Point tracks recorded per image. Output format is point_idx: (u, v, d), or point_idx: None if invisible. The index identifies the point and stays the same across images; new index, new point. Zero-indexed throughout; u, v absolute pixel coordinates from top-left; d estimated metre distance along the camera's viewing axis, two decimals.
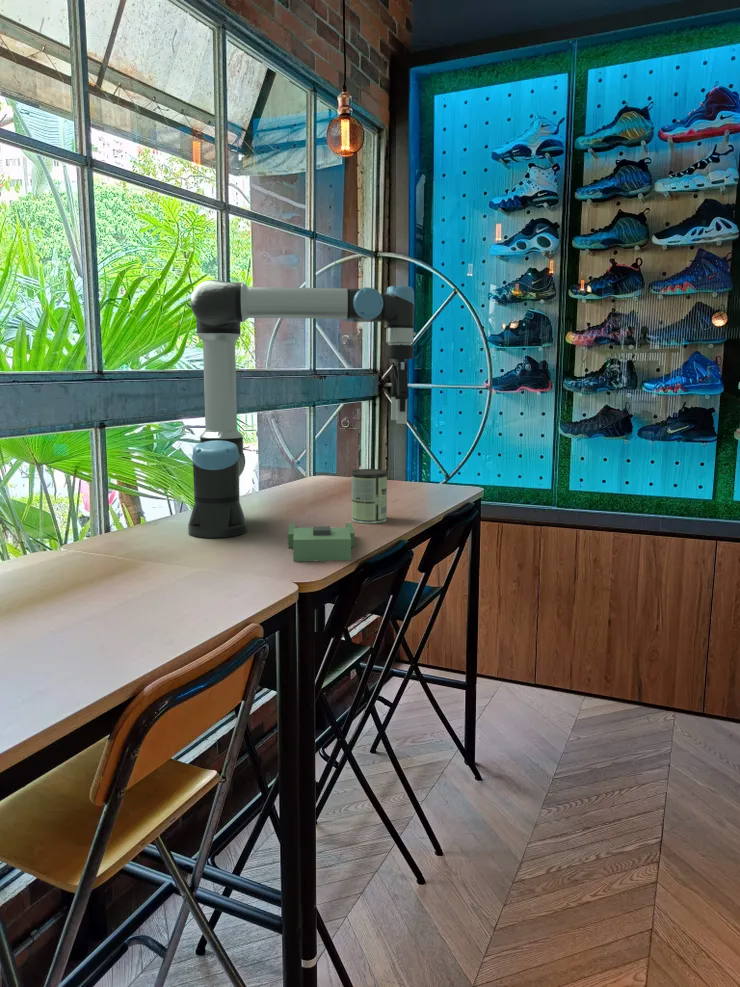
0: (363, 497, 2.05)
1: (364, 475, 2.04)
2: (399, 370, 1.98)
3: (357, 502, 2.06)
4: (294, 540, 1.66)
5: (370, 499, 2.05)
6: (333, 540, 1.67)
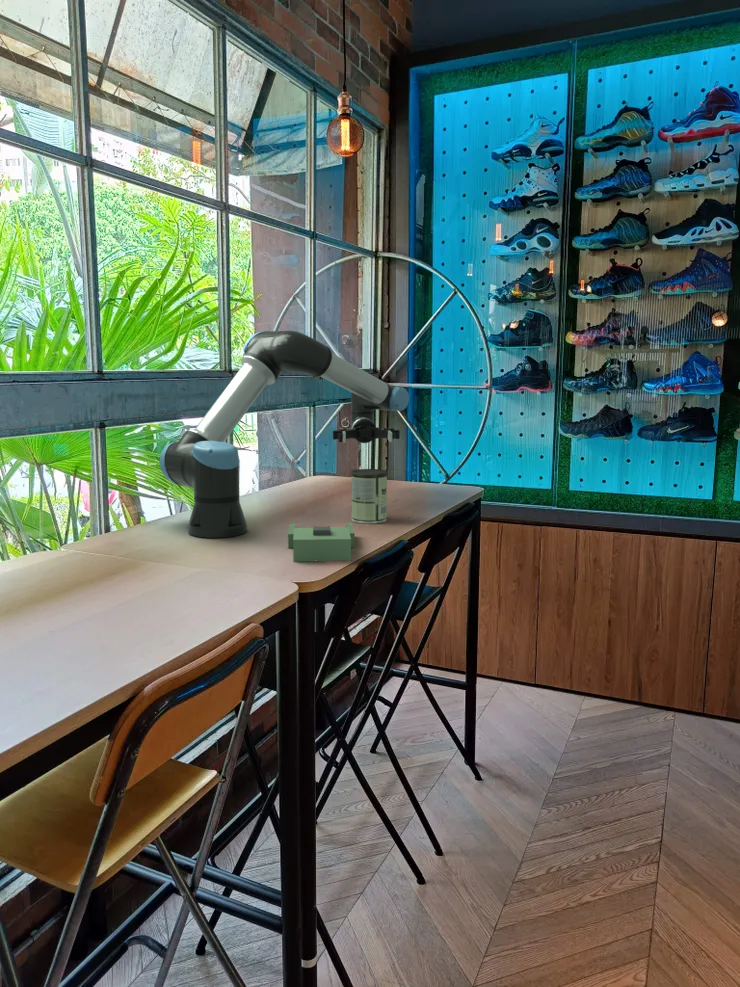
0: (363, 497, 2.05)
1: (364, 475, 2.04)
2: None
3: (357, 502, 2.06)
4: (294, 540, 1.66)
5: (369, 499, 2.05)
6: (333, 540, 1.67)
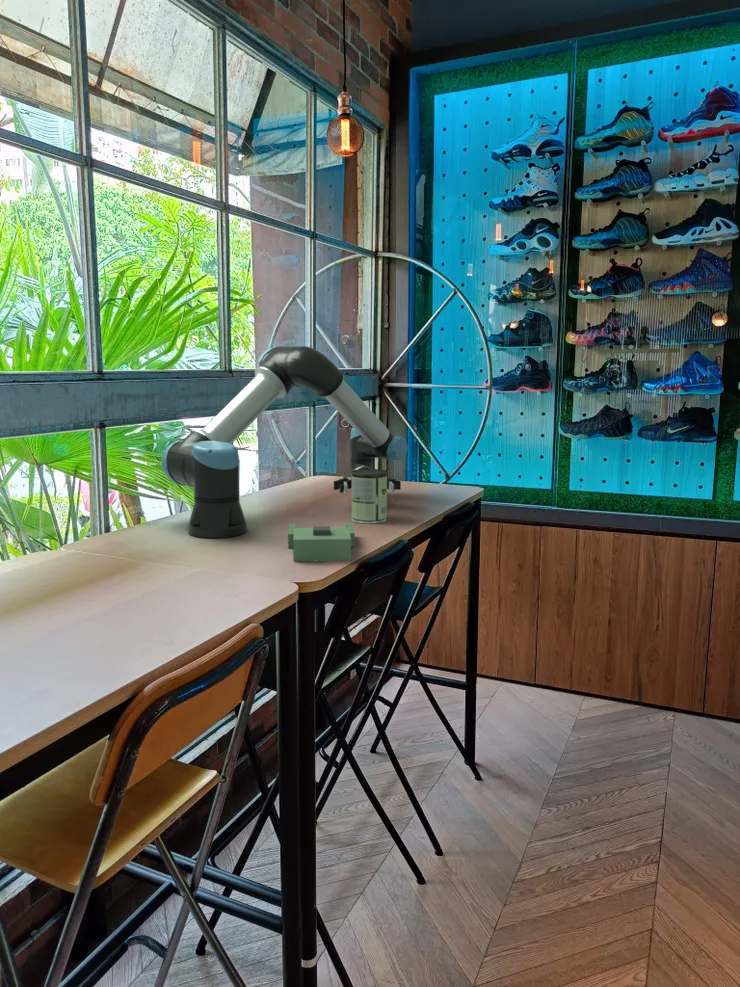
0: (363, 497, 2.05)
1: (364, 475, 2.04)
2: None
3: (357, 502, 2.06)
4: (294, 540, 1.66)
5: (370, 499, 2.05)
6: (333, 540, 1.67)
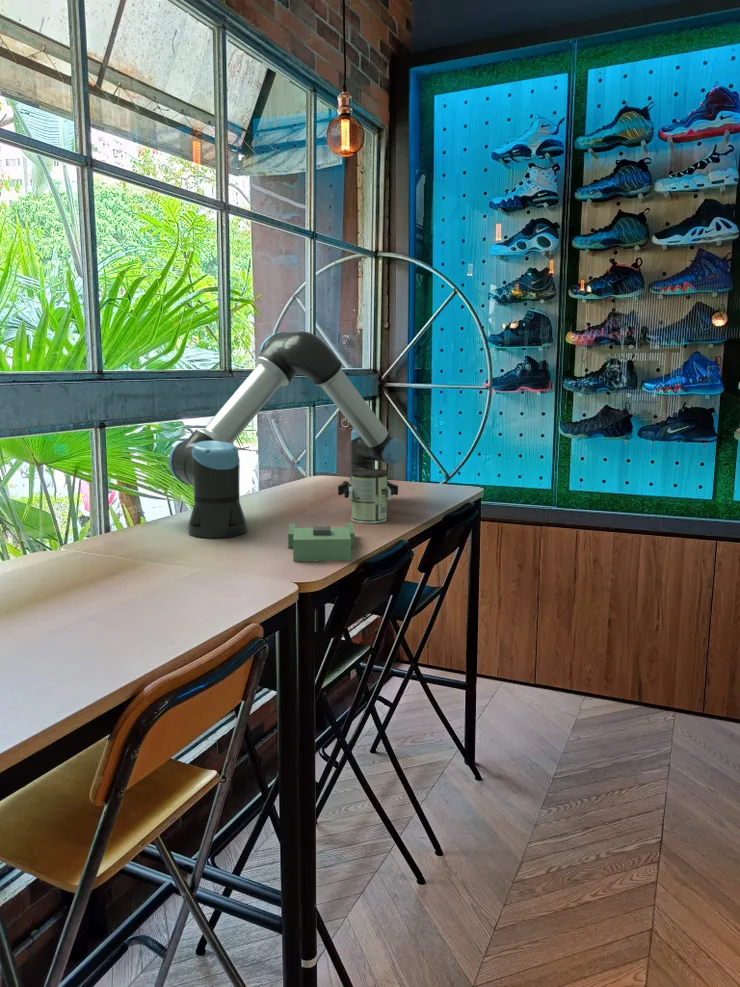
0: (363, 497, 2.05)
1: (364, 475, 2.04)
2: None
3: (357, 502, 2.06)
4: (294, 540, 1.66)
5: (369, 499, 2.05)
6: (333, 540, 1.67)
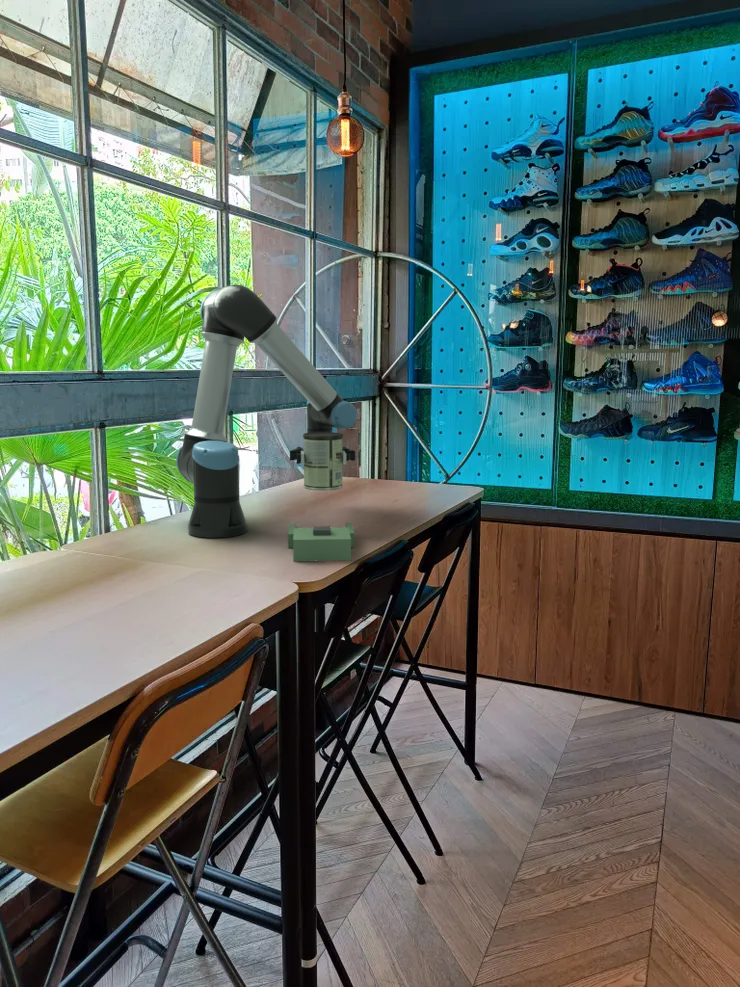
0: (315, 461, 1.88)
1: (316, 437, 1.86)
2: None
3: (309, 467, 1.89)
4: (294, 540, 1.66)
5: (323, 464, 1.88)
6: (333, 540, 1.67)
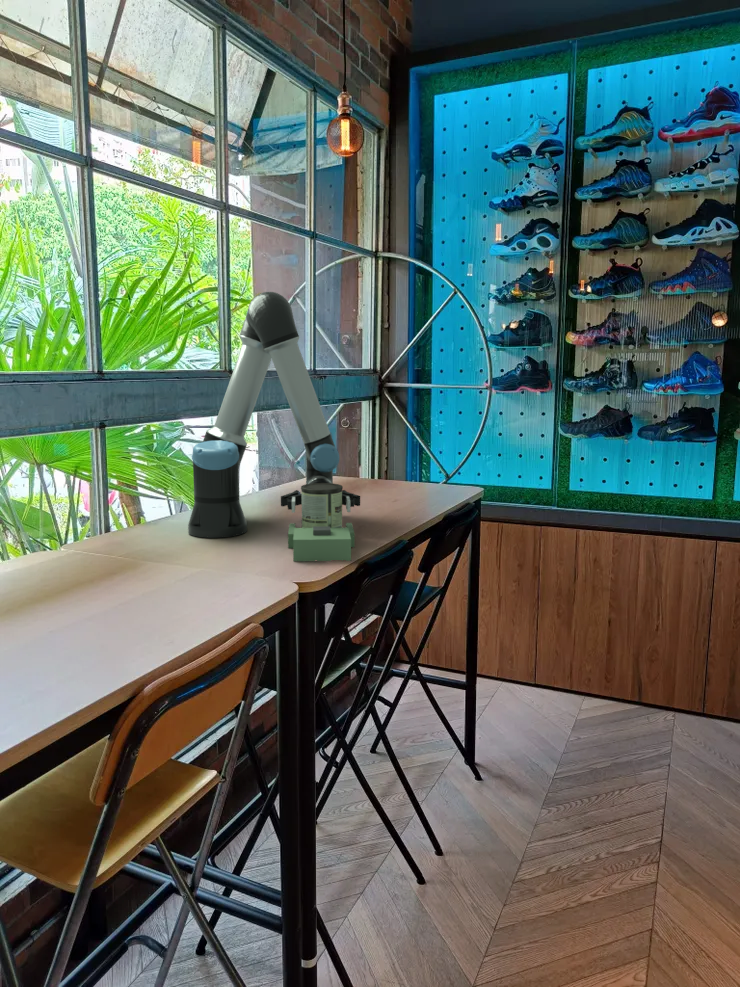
0: (313, 516, 1.79)
1: (314, 491, 1.78)
2: None
3: (307, 521, 1.81)
4: (294, 540, 1.66)
5: (321, 518, 1.79)
6: (333, 540, 1.67)
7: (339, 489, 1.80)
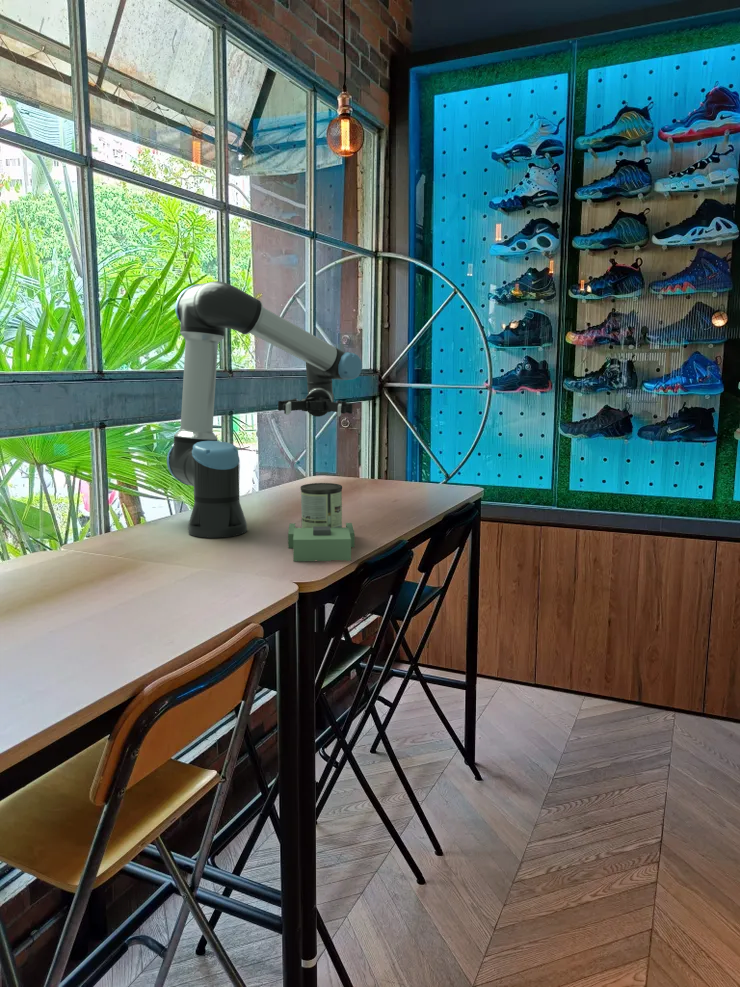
0: (313, 516, 1.79)
1: (314, 491, 1.78)
2: None
3: (307, 521, 1.81)
4: (294, 540, 1.66)
5: (321, 518, 1.79)
6: (333, 540, 1.67)
7: (339, 489, 1.80)
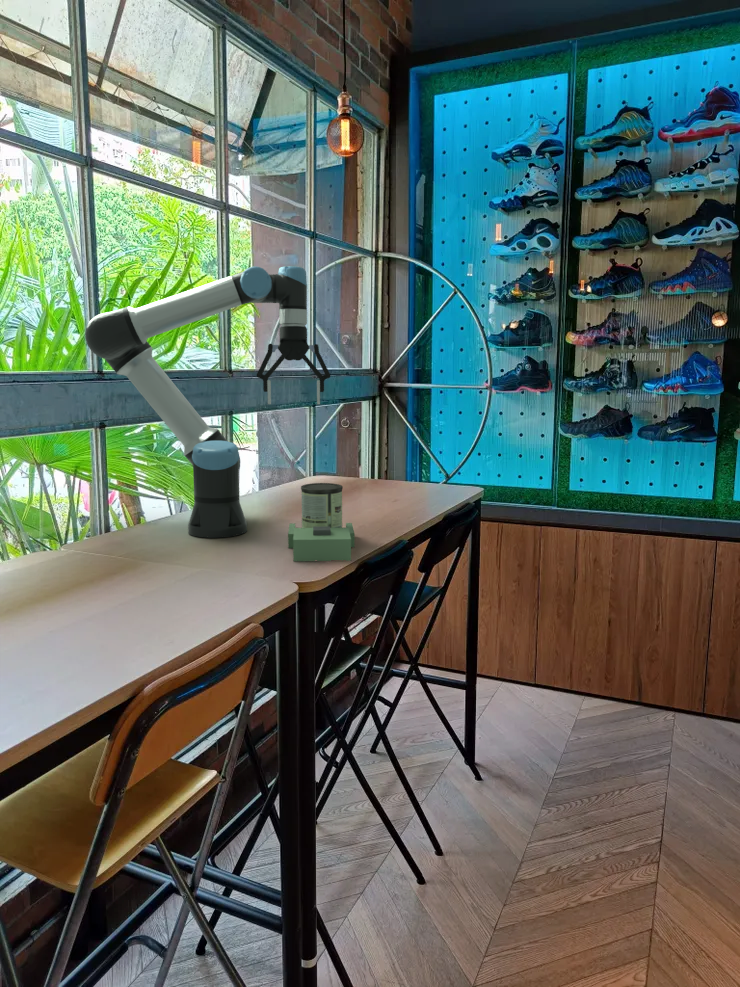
0: (313, 516, 1.79)
1: (314, 491, 1.78)
2: None
3: (307, 521, 1.81)
4: (294, 540, 1.66)
5: (321, 518, 1.79)
6: (333, 540, 1.67)
7: (339, 489, 1.81)
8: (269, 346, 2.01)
